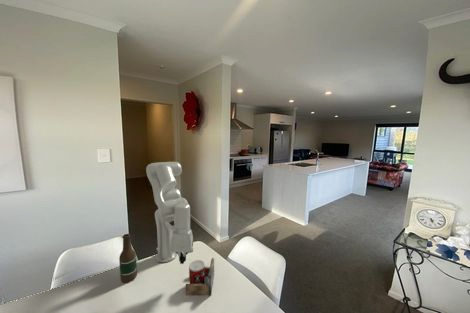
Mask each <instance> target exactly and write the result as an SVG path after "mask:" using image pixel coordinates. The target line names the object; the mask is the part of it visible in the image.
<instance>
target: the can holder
mask: <svg viewBox="0 0 470 313" xmlns="http://www.w3.org/2000/svg"><path fill="white" fill-rule="evenodd" d="M205 278H207V280H208V281H207V283H205V284H190V283H185V296H186V297H187V296H191V297H192V296H204V297H205V296H208V297H210V296H212V294H213V285H214V280H215V258H214V257H212V258H211V260H210V265H209V266H205Z"/></svg>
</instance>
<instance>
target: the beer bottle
mask: <svg viewBox="0 0 470 313" xmlns="http://www.w3.org/2000/svg"><path fill="white" fill-rule="evenodd" d="M121 238H122V251H121V253H120V254H119V258H118V259H119V261H118V262H119V273H120V275H119V276H120V280H121V283H122V284H123V283H124V284H127V283H130V282H133V281H134V280H135V279H136V277H137V275H138V268H137V267H138V266H137V264H138V263H137V253H136V252H135V250H134V249H133V248H132V242H131V234H130V233H126V234H123V235H122V237H121Z"/></svg>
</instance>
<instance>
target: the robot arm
mask: <svg viewBox="0 0 470 313" xmlns="http://www.w3.org/2000/svg"><path fill="white" fill-rule="evenodd" d="M145 169H146V170H145V171H146V175H147V179H148V181H149V182H150V184H151V187H152V192H153V199H154V204H155V205H156V206H157V209H156V210H155V212H154V219H155V225H156V233H157V234H156V235H157V247H156V249H155V250H156V251H157V253H156V255H155V260H156V261H157V262H158V263H169V262H172V261H173V260H174V259H176V257H177V256H178V261H179V264H180V265H184V263H185V262H186V260H187V255H188V254H190V253H193V252H194V248H193V246H194V236H193V230H192V229H191V206H190V204H189V203H188V200H187V199H186V198H184V197H182V194H181V192H180V190H179V189H178V188H176V186H177V185H178V182H177V180H176V176H180V175H182V172H183V170H182V165H181V163H179V162H178V161H163V162H162V161H160V162H152V163H149V164H148V165H147V166H146V167H145ZM172 222H174V223H173V224H174V225H172V224H171V223H172Z"/></svg>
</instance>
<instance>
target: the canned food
mask: <svg viewBox="0 0 470 313" xmlns="http://www.w3.org/2000/svg"><path fill="white" fill-rule="evenodd" d="M205 267H206V265H205V261H203V260H200V259H198V260H197V259H196V260H193V261H192V262H190V263H189V266H188V274H189V275H188V276H189V284H206V277H205Z"/></svg>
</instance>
